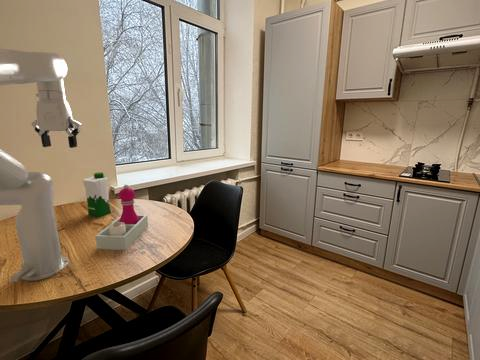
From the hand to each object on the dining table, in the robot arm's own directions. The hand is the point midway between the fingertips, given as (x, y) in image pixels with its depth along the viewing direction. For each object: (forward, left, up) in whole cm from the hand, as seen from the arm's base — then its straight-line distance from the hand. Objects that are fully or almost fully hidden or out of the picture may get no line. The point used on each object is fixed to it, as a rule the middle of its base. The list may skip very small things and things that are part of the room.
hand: (60, 147), depth 93 cm
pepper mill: (+7, -19, -36) cm, 41 cm away
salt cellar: (-3, -19, -35) cm, 40 cm away
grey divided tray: (+2, -19, -36) cm, 41 cm away
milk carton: (+26, +5, -36) cm, 45 cm away
